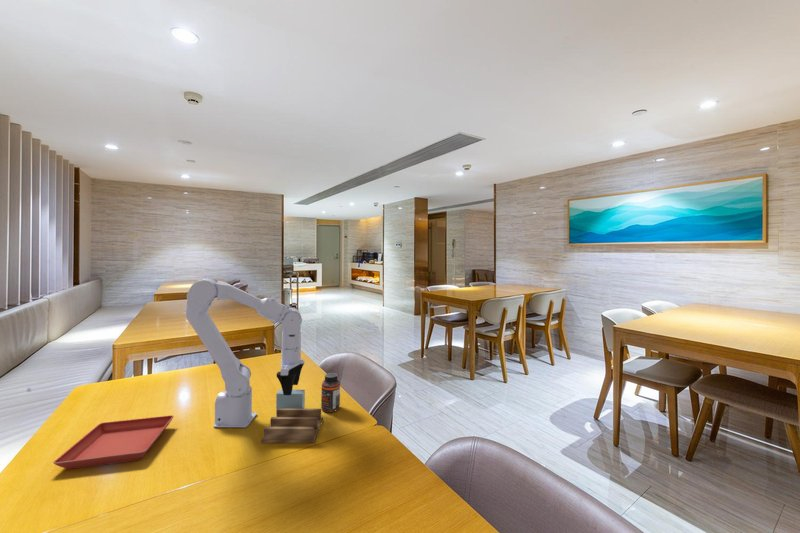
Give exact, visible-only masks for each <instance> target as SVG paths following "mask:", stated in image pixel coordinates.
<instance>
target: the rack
mask: <svg viewBox="0 0 800 533" xmlns="http://www.w3.org/2000/svg"><path fill="white" fill-rule="evenodd" d="M322 420H323V421H324V418H323V417H322V409H321V408H305V409H295V408H278V409H277V415H276V416H272V417H270V421H269V422H270V424H269V425H270V426H264V428H263V437H262V439H261V441H260V442H261V444H315V443H316V440H315V439H317V437H318V435H319V432H320V429H321V427H322V424H323V422H322ZM321 423H322V424H321ZM320 426H321V427H320ZM319 428H320V429H319ZM318 431H319V432H318ZM317 434H318V435H317ZM314 442H315V443H314Z"/></svg>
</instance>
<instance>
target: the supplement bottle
mask: <svg viewBox="0 0 800 533" xmlns="http://www.w3.org/2000/svg"><path fill="white" fill-rule="evenodd" d="M320 398H321V404H320V405H321V408H320V409H321V411H322V412H325V411H326V412H325V413H332V412H331V411H334V412H336V411H335V410H337V409H338V408H339V409H340V407H339V406H340V405H341V402H340V401H341V382H340V380H339V379H338V374H337V373H336V372H327V373H326V374H325V375H324V380H323V381H322V382H321V397H320ZM339 409H338V410H339ZM338 410H337V411H338Z"/></svg>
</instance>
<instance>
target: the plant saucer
mask: <svg viewBox="0 0 800 533" xmlns="http://www.w3.org/2000/svg"><path fill="white" fill-rule="evenodd" d="M173 419H174V415H173V414H171V415H163V416H154V417H152V416H151V417H143V418H135V419H126V420H125V419H124V420H115V421H106V422H100V423H99V424H97V425H96V426H94V428H93V429H91V430H90V431H89V432H87V433H86V434H85V435H84V436H82V437H81V438H80V439H79V440H78V441H77V442H75V444H73V445H71V447H69V448H68V449H67V450H65V451H64V453H62V454H61V455H59V457H57V458H56V459H55V460H54V461H53V462H52V463H53V464H54V465H55V466H58V467H61V468H64V469H67V470H71V469H78V468H87V467H95V466H101V465H102V466H104V465H109V464H110V465H111V464H119V463H126V462H127V463H128V462H134V461H140V460H141V459H142V458H144V456H145V455H146V454H147V452H148V451H149V450H150V449H151V447H152V446H153V445H154V444H155V442H156V441H157V440H158V439H159V437H160V436H161V435H162V434H163V432H164V431H165V430H166V428H167V427H168V426H169V425H170V423H171V422H172V420H173Z"/></svg>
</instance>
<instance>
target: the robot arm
mask: <svg viewBox="0 0 800 533" xmlns="http://www.w3.org/2000/svg"><path fill="white" fill-rule="evenodd" d="M215 299H216V301H222V300H232V301H234V302H237V303H240V304H242V305H245V306H248V307H250V308H252V309H255V310H256V313H257V315H259V316H260V317H263V318H265V319H268V320H270V321H272V322H275V323H276V324H282V333H281V360H280V366H281V367H280V371H277V373H276V378H277V379H278V381H279V383H280V387H281V390H283V394H284V395H291V393H292V390H293V386H298V385H299V382H300V378H301V377H300V376H301V372H302V369H303V368H304V365H305V359H302V358H301V356H302V350H301V348H302V343H301V342H302V333H301V328H302V327H301V326H302V323H303V318H302V316H301V314H300V311H299V310H298V309H297V308H295V307H293V306H290V305H289V304H286V305H285V304H283V303H281V302H279V301H277V300H276V298H275V297H271V298H270V297H264V298H259V297H257V296H255V295H253V294H251V293H249V292H246V291H244V290H242V289H240V288H238V286H237V287H236V286H235V285H232V284H229V283H227V282H225V281H221V280H217V279H215V278H212V277H203V278H202V279H199V280H197V281H195V282H194V283H193V284H192V285H191V286H190V288H189V290H188V292H187V294H186V310H185V317H186V319H187V321H188V322H189V324H190V325H191V327H192V328H193V330H194V332H195V333H196V334H197V336H198V338H199V340H200V341H201V342H202V344H203V346H204V347H205V348H206V350H207V352H208V353H209V355H210V356H211V358H212V359H213V361H214V362H215V363H216V366H218V368H219V370H220V371H219V372H220V374H221V378H222V380H223V381H224V387H225V388H224V389H225V390H224V391H223V390H222V391H220V392H219V393H218V394H217V395H216V397H215V401H214V424H213V428H247V427H248V426H249V425H250V424H251V422H252V421H253V419H255V417H256V416H257V414H258V413H257V412H253V410H252V409H253V395H252V394H253V388H252V386H251V384H250V383H251V382H250V379H251V376H252V372H251V369H250V368H249V367H248V366H247V365H245V364H243V363H242V361H241V359H239V358H238V357H236V355H235V354H234V352H233V351H232V349H231V348H230V346H229V344H228V342H227V341H226V339H225V338H224V337H223V335H222V333H221V332H220V330H219V329H218V327H217V326H216V324H215V322H214V321H213V318H212V317H211V316H210V315H209V311H210V308H211V305H212V303H213V301H214V300H215Z"/></svg>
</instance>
